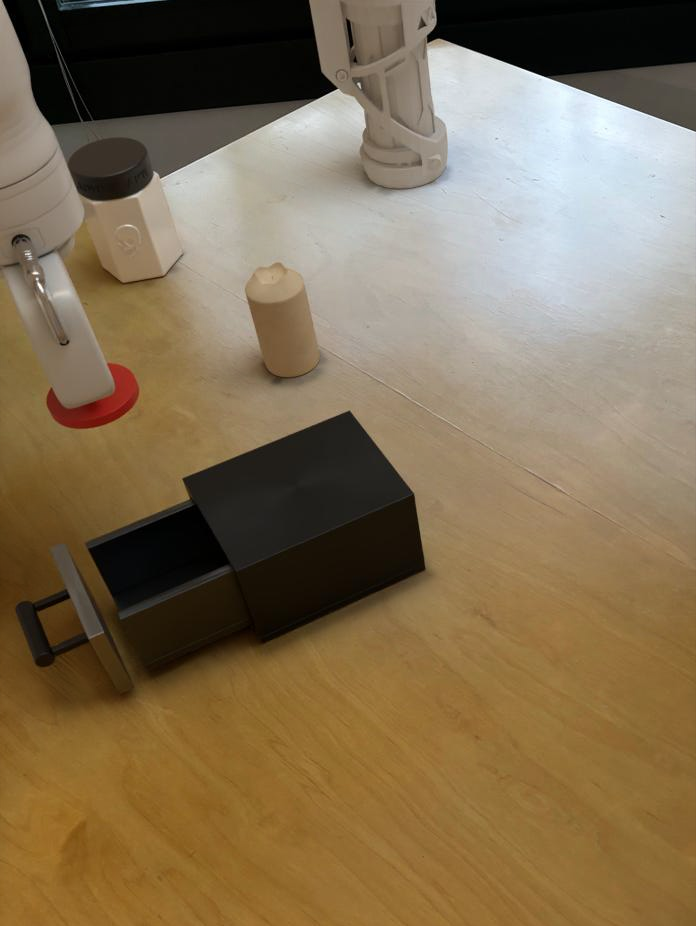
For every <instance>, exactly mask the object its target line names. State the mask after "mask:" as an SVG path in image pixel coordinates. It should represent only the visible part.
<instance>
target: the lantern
mask: <svg viewBox="0 0 696 926" xmlns="http://www.w3.org/2000/svg"><path fill="white" fill-rule="evenodd" d="M308 1H309V7H310V13H311V18H312V24H313V30H314V36H315V41H316V47H317V53H318V58H319V64H320V70H321V73H322V74H323V75H324V76H325V77H326V78H327V79H328V80H329V81H330V82H331V83H332V84H333V85H334V86H335V87H336V88H337V89H338V90H339V91H340V92H341V93H342V94H344V95H348V96H351V97H352V98H354V99H355V100H356V102H357V103H358V104H359V105H360V107H361V108H362V109H363V115H364V123H365V128H364V129H363V131H362V135H361V137H362V143H361V145H360V147H359V156H360V160H361V163H362V168H363V169H364V171H365V173H366V176H367V177H368V179H369V180H370V181H371V182H372V183H374V184H375V185H378V186H380V187H383V188H387V189H397V190H401V189H402V190H403V189H412V188H417V187H422V186H425V185H427V184H430V183H431V182H433V181H435V180H437V179H438V178H439V177H440V176H441V175H442V174H443V173H444V172H445V169H446V167H447V161H448V148H449V142H448V132H447V125H446V122H444V120H442V119H441V118H440V117H438V116H437V115H436V114H435V108H434V107H435V106H434V102H433V96H432V88H431V79H430V78H431V77H430V68H429V57H428V35H430V34H431V32H432V31H433V30H434V29H435V27H436V25H437V12H436V0H308ZM347 20H348V21H349V23H350V29H351V36H352V42H353V45H352V47H351V44H350V38H349V32H348V24H347ZM355 58H356V62H354V60H355Z"/></svg>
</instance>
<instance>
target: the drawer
mask: <svg viewBox="0 0 696 926" xmlns="http://www.w3.org/2000/svg"><path fill="white" fill-rule="evenodd" d="M84 545H85V546H86V549H87V551H88V553H89V555H90V558H91V559H92V561H93V563H94V565H95V567H96V569H97V571H98V573H99V574H100V577H101V579H102V580H103V582H104V584H105V586H106V588H107V590H108V592H109V594H110V596H111V599H112V600H113V602H114V605H115V606H116V608H117V611H118V612H116V615H117V617H118V618H119V621H120V623H121V624H122V627H123V629H124V630H125V632H126V634H127V637H128V638H129V640H130V642H131V644H132V645H133V647H134V650H135V651H136V654H137V655H138V657H139V659H140V661H141V663H142V665H143V667H144V669H145V670H146V672H149V671H151V670H153V669H156V668H158V667H160V666H163V665H164V664H167V663H169V662H171V661H174V660H176V659H177V658H180V657H182V656H184V655H187V654H189V653H191V652H194V651H195V650H198V649H199V648H203V647H204V646H206V645H209V644H211V643H213V642H216V641H218V640H220V639H222V638H224V637H226V636H229V635H231V634H233V633H235V632H238V631H239V630H242V629H244V628H247V627H249V626H252V625H251V624H253V622H252V619H251V616H250V613H249V611H248V608H247V605H246V602H245V600H244V597H243V594H242V592H241V589H240V586H239V583H238V581H237V578H236V575H235V572H234V571H233V569H232V567H231V565H230V564H229V562H228V560H227V558H226V557H225V555H224V553H223V551H222V550H221V548H220V546H219V544H218V543H217V541H216V539H215V538H214V536H213V534H212V532H211V531H210V529H209V527H208V525H207V524H206V522H205V520H204V518H203V517H202V515H201V513H200V511H199V510H198V508H197V506H196V504H195V503H194V501H193V499H190V498H189V499H187V500H185V501H182V502H180V503H178V504H177V503H176V504H175V505H172V506H170V507H168V508H166V509H163V510H161V511H158V512H156V513H153V514H151V515H148V516H146V517H144V518H140V519H138V520H136V521H134V522H131V523H129V524H126V525H124V526H121V527H119V528H117V529H115V530H112V531H110V532H107V533H105V534H103V535H100V536H97V537H95V538H92V539H90V540H88V541H85V542H84ZM49 551H50V553H51V556H52V559H53V561H54V563H55V565H56V567H57V570H58V572H59V574H60V577H61V579H62V581H63V584H64V586H65V589H62V590H59V591H58V592H55V593H53V594H50V595H48V596H46V597H43V598H42V599H39V600H36V601H34V602H32V601H30V600H22V601H20V602H18V603H17V604H16V605H15V607H14V612H15V615H16V617H17V619H18V621H19V625H20V627H21V630H22V633H23V635H24V638H25V640H26V643H27V646H28V648H29V651H30V654H31V657H32V658H33V661H34V664H35V666H37V667H39V668H48V667H50V666H51V665H53V664H54V663H55V661H56V657H59V656H61V655H63V654H65V653H68V652H71V651H73V650H75V649H77V648H79V647H82V646H84V645H86V644H88V643H90V645H91V647H92V648H93V650H94V652H95V654H96V655H97V657H98V660H99V661H100V662H101V665H102V666H103V667H104V669H105V671H106V673H107V675H108V676H109V678H110V680H111V682H112V683H113V686H114V687H115V689H116V691H117V692H118V694H119V695H121V694H123V693H125V692H127V691H130V690H132V689H134V688H135V684H134V683H133V681H132V678H131V676H130V674H129V672H128V670H127V667H126V665H125V662H124V660H123V659H122V657H121V656H122V655H121V654H120V652H119V649H118V646H117V644H116V643H115V640H114V637H113V636H112V634H111V632H110V629H109V627H108V625H107V623H106V620H105V618H104V616H103V614H102V611H101V609H100V607H99V604H98V602H97V600H96V598H95V596H94V594H93V593H92V591H91V589H90V587H89V585H88V583H87V581H86V580H85V578H84V576H83V574H82V572H81V569H80V568H79V566H78V565H77V563H76V561H75V559H74V556H73V555H72V554H71V551H70V550H69V548H68V546H67V544H66V542H61V543H59V544H56V545H54V546H51V547H50V548H49ZM68 600H71V603H72V605H73V607H74V609H75V612H76V614H77V617H78V619H79V621H80V624H81V626H82V628H83V631H84V632H82V633H80V634H77V635H75V636H72V637H70V638H68V639H66V640H64V641H61V642H59V643H56V644H54V645H52V646H51V644H50V641H49V639H48V636H47V634H46V630H45V629H44V626H43V624H42V621H41V618H40V616H39V613H40V612H42V611H44V610H47V609H49V608H51V607H54V606H56V605H58V604H61V603H64V602H66V601H68Z"/></svg>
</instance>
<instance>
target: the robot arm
mask: <svg viewBox="0 0 696 926" xmlns="http://www.w3.org/2000/svg"><path fill="white" fill-rule="evenodd" d="M4 4H5V3H4V2H3V0H0V279H1V280H2V279H4V280H5V284H6V286H7V289H8V291H9V295H10V297H11V299H12V302H13V305H14V307H15V311H16V313H17V316H18V317H19V319H20V322H21V324H22V326H23V329H24V331H25V333H26V335H27V337H28V340H29V341H30V344H31V346H32V348H33V350H34V352H35V354H36V356H37V357H36V358H37V359H38V361H39V362H40V365H41V368H42V370H43V372H44V374H45V376H46V378H47V380H48V382H49V385H50V386H51V387H52V389H53V391H54V393H55V395H56V397H57V398H58V400H59V401H60V403H61V404H62V405H63V406H64V407H65V408H68V409H72V408H76V407H80V406H83V405H86V404H89V403H92V402H95V401H97V400H100V399H103V398H105V397H108V396H110V395H112V394H113V393H114V391H115V384H114V380H113V377H112V375H111V372H110V370H109V367H108V365H107V363H108V362H107V360H106V358H105V356H104V353H103V351H102V348H101V346H100V344H99V342H98V340H97V337H96V334H95V333H94V330H93V328H92V325H91V323H90V321H89V318H88V315H87V313H86V311H85V309H84V307H83V304H82V302H81V300H80V297H79V295H78V292H77V290H76V288H75V285H74V284H73V282H72V279H71V276H70V274H69V272H68V270H67V267H66V265H65V263H64V260H66V259H67V257H68V256H69V255H70V254H71V252H72V251H73V249H74V247H75V243H76V237H75V235H76V233H77V232H78V231H79V229H80V228H81V226H82V225H83V223H84V207H83V204H82V202H81V199H80V197H79V194H78V191H77V189H76V186H75V184H74V181H73V179H72V176H71V174H70V171H69V168H68V162H67V160H66V158H65V156H64V153H63V151H62V148H61V145H60V143H59V141H58V137H57V135H56V134H55V131H54V129H53V127H52V126H51V125H50V123H49V121H48V120H47V118H45V116H44V115H43V113H42V112H41V111H40V108H39V106H38V105H37V102H36V100H35V97H34V93H33V90H32V81H31V72H30V67H29V64H28V63H29V62H28V61H27V58H26V55H25V53H24V51H23V48H22V45H21V42H20V39H19V37H18V35H17V32H16V30H15V28H14V27H15V26H14V25H13V22H12V20H11V18H10V16H9V13H8V10H7V8H6V6H5V5H4Z"/></svg>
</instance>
